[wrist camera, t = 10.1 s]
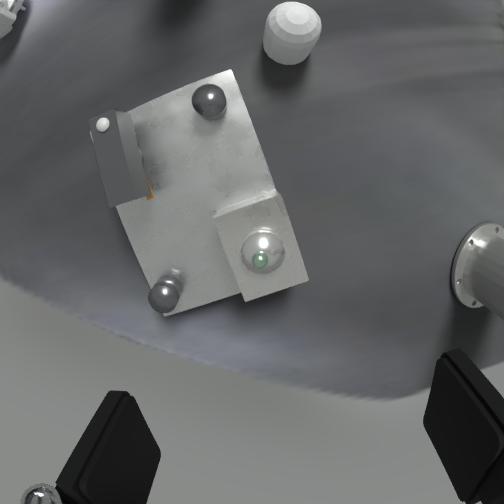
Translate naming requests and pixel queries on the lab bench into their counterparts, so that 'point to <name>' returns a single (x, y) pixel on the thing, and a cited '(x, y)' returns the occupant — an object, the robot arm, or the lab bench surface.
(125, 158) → the block
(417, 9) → the lab bench surface
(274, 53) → the capsule
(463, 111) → the lab bench surface
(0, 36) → the mechanical part
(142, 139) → the levelling base
